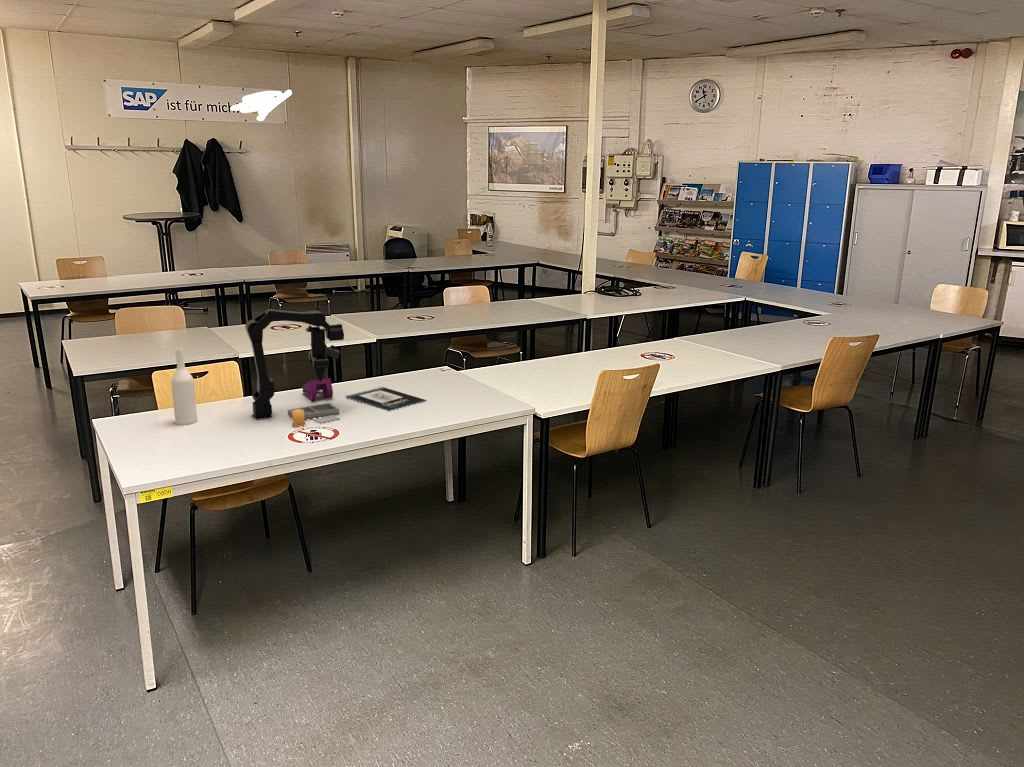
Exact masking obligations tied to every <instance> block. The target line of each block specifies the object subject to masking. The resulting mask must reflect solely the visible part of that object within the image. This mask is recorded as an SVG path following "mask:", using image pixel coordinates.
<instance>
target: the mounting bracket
mask: <svg viewBox="0 0 1024 767" xmlns="http://www.w3.org/2000/svg"><path fill="white" fill-rule="evenodd" d="M302 389H303V390H302ZM301 390H302V393H304V394H306V397H307V399H309V400H310V401H309V400H308V401H309V402H315V400H316V401H317V399H318V392H319V391H321V392H322V396H323V398H324V399H325V400H331V399H333V397H334V396H333V395H334V394H333V393H334V392H333V385H332V380H331V378H323V379H322V381H319V379H314V380H308V381H307V382H306V383H305V384H304V385H302V386H301Z"/></svg>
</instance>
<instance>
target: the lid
mask: <svg viewBox="0 0 1024 767" xmlns="http://www.w3.org/2000/svg"><path fill="white" fill-rule="evenodd" d="M313 420H314V421H316V422H318V423H317V424H319V423H320V424H319V425H322V424H321V423H324V424H327V423H326V422H328V423H332V422H335V420H336V421H340V420H341V418H340V417H338V416H337V415H329V416H325V417H321V418H316V419H312V421H313ZM314 421H313V422H314ZM331 421H332V422H331ZM316 422H315V423H316Z"/></svg>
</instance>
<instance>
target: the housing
mask: <svg viewBox="0 0 1024 767" xmlns="http://www.w3.org/2000/svg"><path fill="white" fill-rule="evenodd" d="M295 409H303V410H304V419H305V420H306V421H308V420H307V419H311V420H313V419H312V418H319V417H325V416H329V415H333V416H337V415H338V414H339V415H340V408H339V407H337V406H336V405H333V404H332V403H329V402H327V403H321V404H315V405H308V406H304V407H298V408H297V407H296V408H292V409H291V408H290V409H287V416H288V415H289V416H290V417H289V416H288V417H289V418H291V417H292V411H293V410H295ZM339 415H338V416H339ZM292 418H293V417H292ZM292 418H291V419H292Z"/></svg>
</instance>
